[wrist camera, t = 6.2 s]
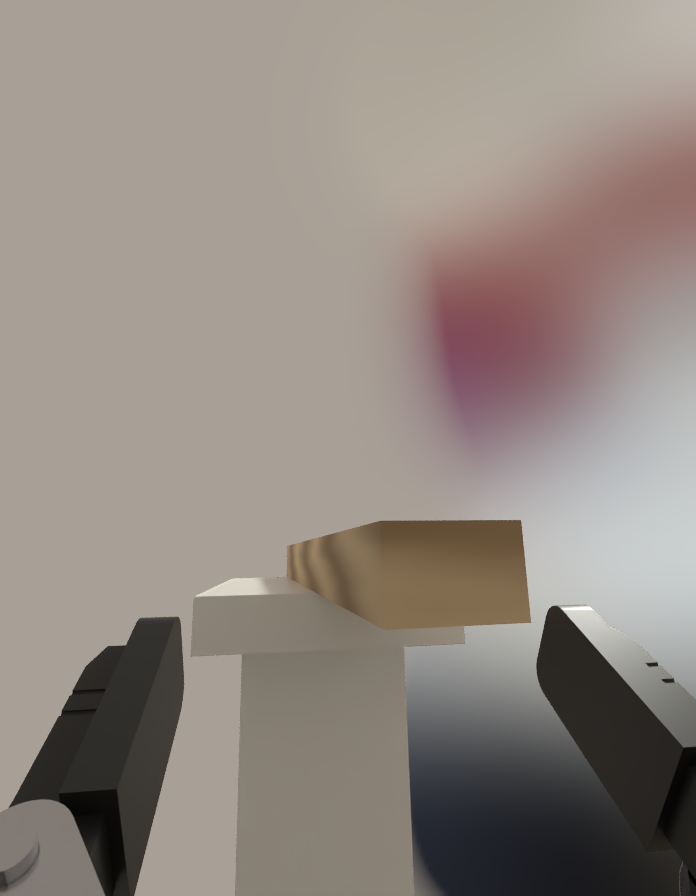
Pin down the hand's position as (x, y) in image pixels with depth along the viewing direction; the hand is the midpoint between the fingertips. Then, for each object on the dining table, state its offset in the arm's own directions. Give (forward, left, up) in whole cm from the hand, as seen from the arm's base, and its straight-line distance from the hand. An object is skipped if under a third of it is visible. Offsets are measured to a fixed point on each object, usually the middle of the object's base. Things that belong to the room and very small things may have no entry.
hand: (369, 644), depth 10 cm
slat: (-6, +9, +1) cm, 10 cm away
